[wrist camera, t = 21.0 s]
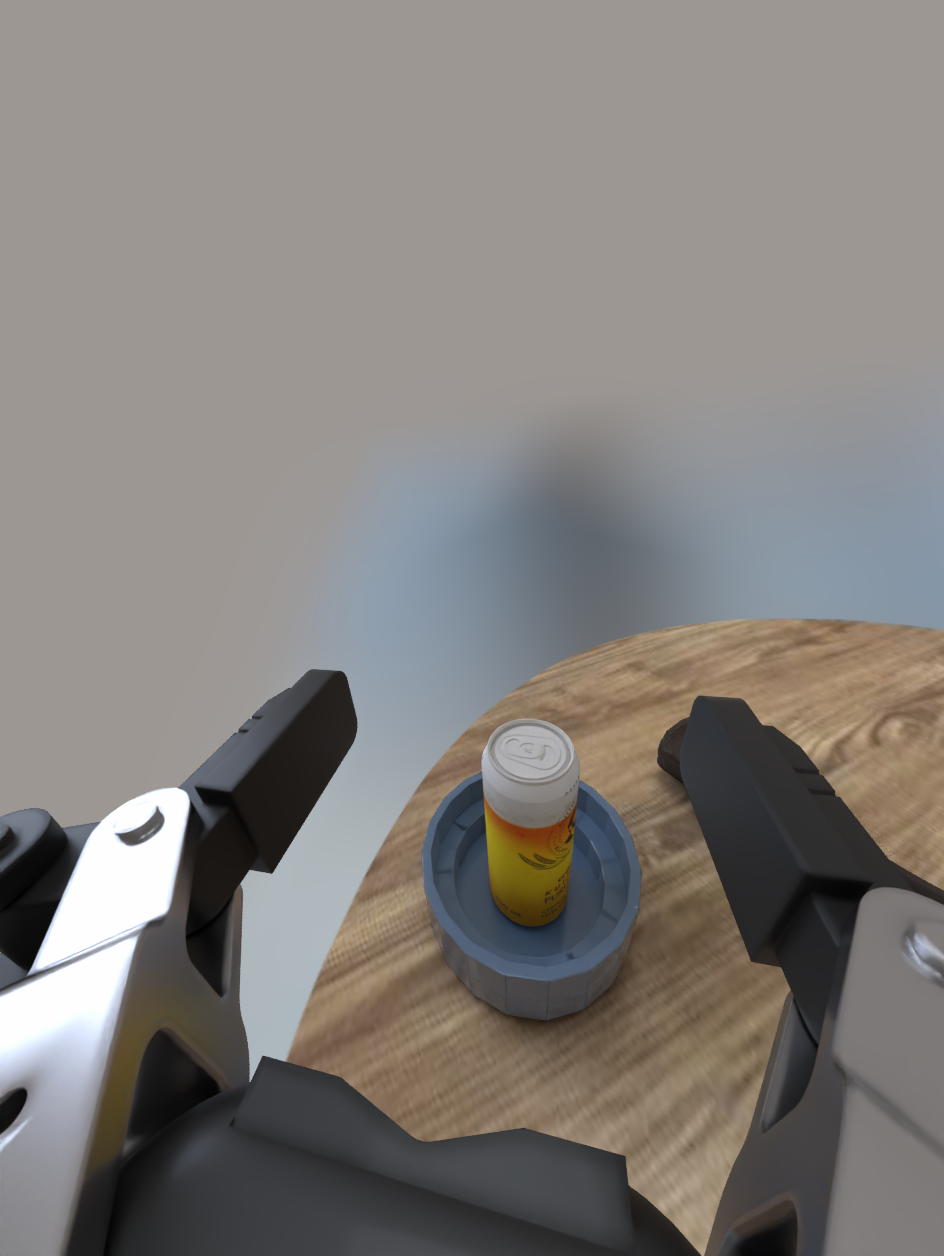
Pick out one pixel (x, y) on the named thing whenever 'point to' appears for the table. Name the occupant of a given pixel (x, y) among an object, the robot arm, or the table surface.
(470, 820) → the blue bowl
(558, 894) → the beer can
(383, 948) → the table surface
